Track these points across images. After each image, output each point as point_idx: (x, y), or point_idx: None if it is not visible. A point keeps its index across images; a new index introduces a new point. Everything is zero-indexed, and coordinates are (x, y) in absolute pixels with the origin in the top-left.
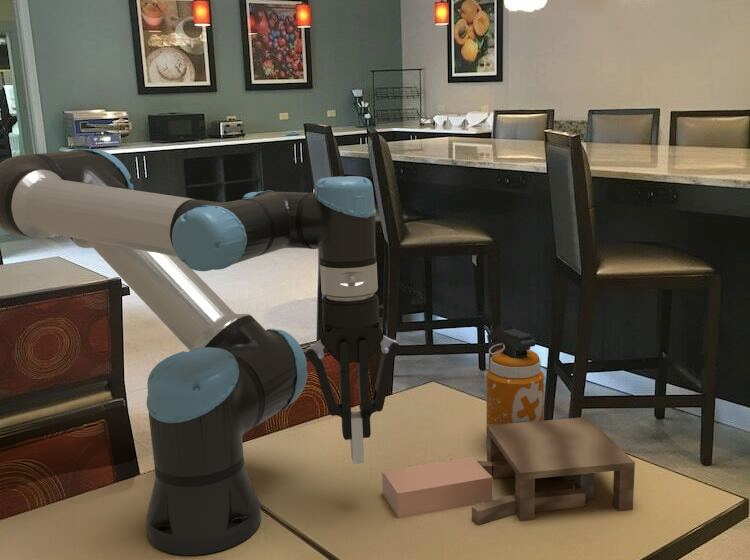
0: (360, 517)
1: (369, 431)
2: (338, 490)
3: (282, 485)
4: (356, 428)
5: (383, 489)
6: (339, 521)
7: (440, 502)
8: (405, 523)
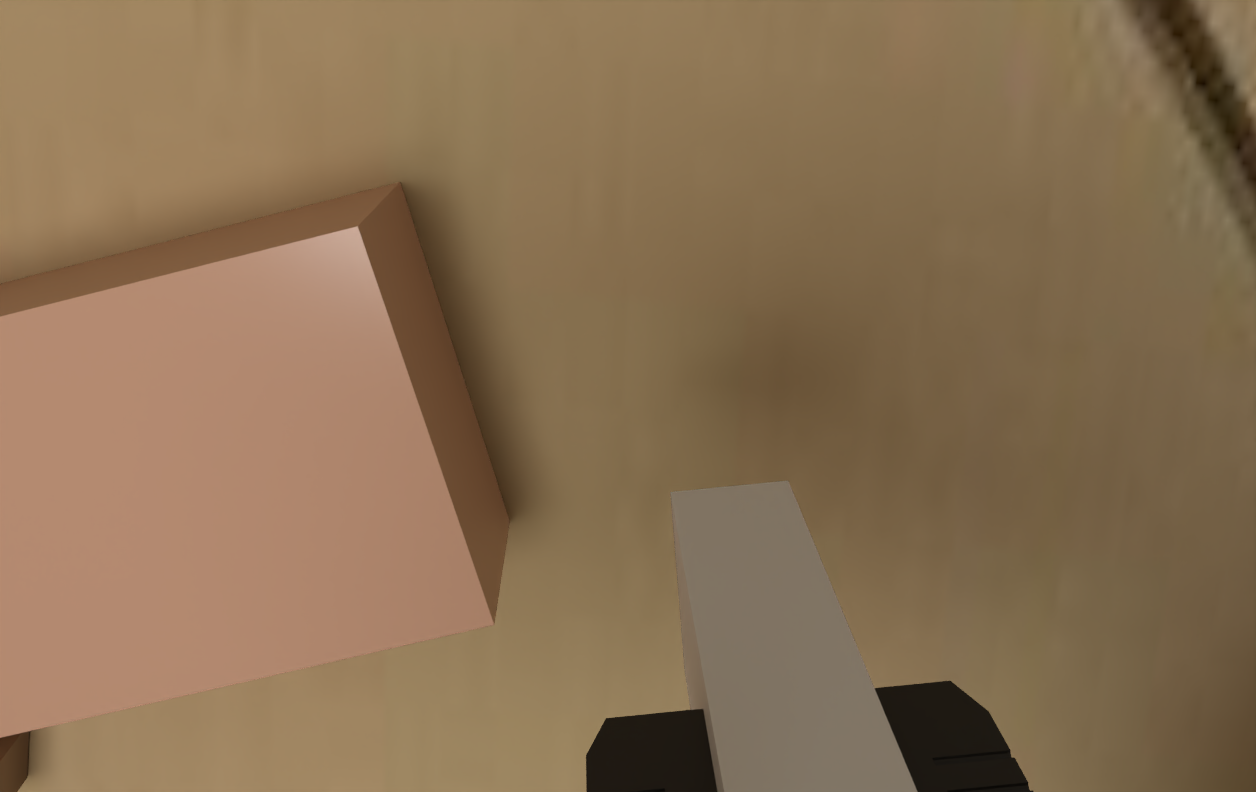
0: (688, 218)
1: (603, 779)
2: None
3: (1188, 688)
4: (825, 774)
5: (500, 530)
6: (849, 175)
7: (38, 281)
8: (343, 93)
